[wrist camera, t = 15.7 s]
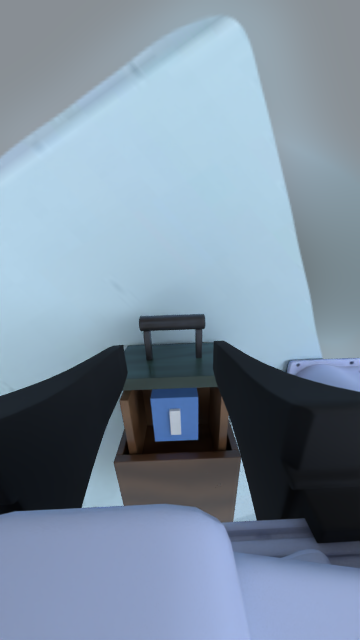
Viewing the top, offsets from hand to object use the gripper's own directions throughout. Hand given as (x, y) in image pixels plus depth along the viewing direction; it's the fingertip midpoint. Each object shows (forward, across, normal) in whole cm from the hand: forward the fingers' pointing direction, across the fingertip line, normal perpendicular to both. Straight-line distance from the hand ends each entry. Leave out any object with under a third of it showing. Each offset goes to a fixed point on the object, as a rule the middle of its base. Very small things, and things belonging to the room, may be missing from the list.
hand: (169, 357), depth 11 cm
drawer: (+9, 0, +7) cm, 11 cm away
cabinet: (+9, 0, +19) cm, 21 cm away
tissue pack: (+8, 0, +9) cm, 11 cm away
